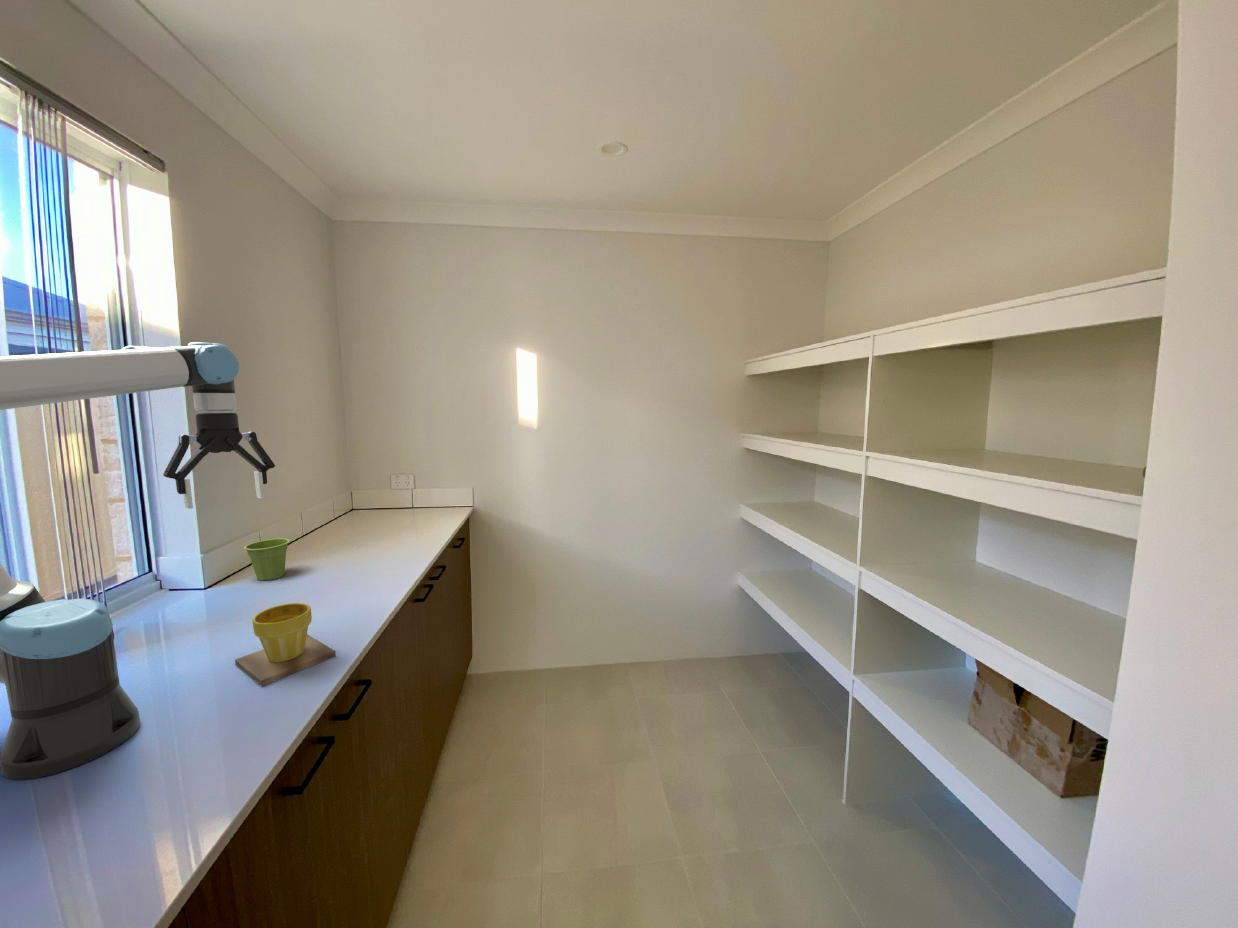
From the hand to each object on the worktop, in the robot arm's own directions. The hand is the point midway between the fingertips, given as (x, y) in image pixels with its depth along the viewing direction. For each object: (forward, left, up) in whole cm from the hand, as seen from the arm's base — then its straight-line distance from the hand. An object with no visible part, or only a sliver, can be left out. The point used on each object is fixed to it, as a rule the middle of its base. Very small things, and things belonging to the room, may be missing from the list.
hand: (226, 502), depth 113 cm
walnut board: (+1, -23, -33) cm, 40 cm away
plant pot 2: (+1, -23, -32) cm, 39 cm away
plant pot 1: (+20, +39, -33) cm, 55 cm away
